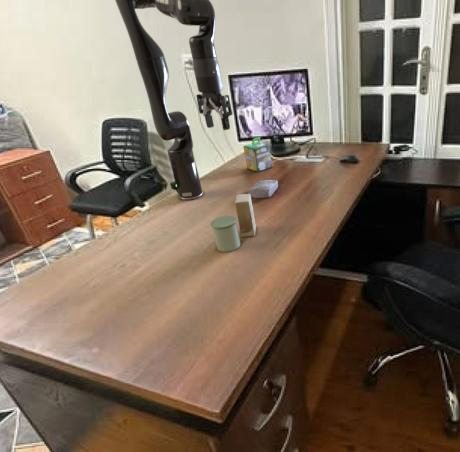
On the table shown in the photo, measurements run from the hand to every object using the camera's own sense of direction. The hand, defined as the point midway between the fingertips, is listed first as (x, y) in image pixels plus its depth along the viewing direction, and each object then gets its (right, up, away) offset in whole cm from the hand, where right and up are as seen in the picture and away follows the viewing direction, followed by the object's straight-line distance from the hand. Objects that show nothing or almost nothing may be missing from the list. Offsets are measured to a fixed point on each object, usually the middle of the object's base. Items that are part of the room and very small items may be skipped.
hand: (218, 128), depth 114 cm
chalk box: (+4, -4, +57) cm, 57 cm away
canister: (+5, -38, -8) cm, 39 cm away
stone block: (+10, -18, +29) cm, 35 cm away
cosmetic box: (+10, -34, -1) cm, 35 cm away
